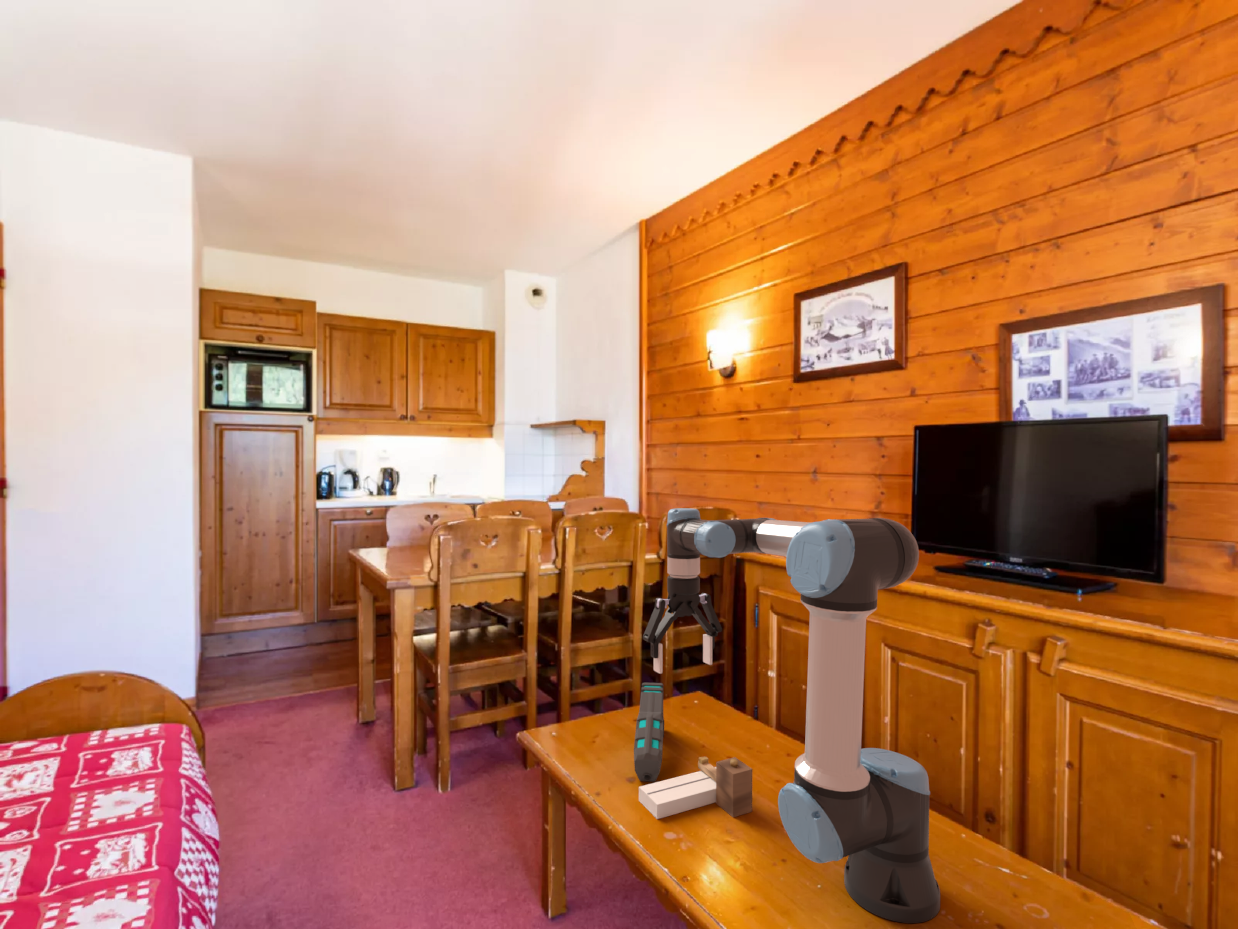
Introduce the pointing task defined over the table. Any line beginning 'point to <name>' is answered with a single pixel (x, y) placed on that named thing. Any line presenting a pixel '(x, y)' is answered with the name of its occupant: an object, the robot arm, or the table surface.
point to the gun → (649, 733)
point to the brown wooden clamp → (730, 784)
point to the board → (678, 794)
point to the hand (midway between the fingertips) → (683, 667)
